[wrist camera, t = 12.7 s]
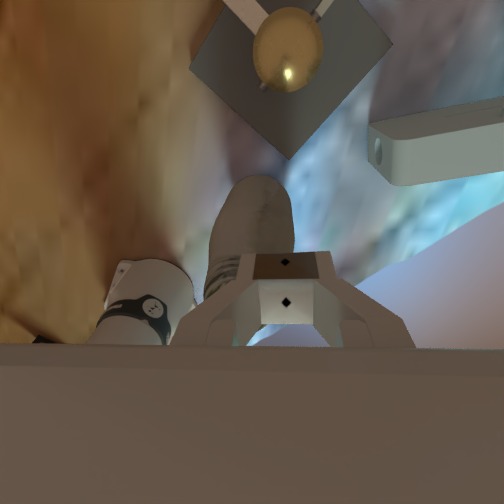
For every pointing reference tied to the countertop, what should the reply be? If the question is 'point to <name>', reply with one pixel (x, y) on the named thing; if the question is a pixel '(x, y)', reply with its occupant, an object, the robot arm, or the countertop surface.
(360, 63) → the plate
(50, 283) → the countertop surface
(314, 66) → the gold knob with bar
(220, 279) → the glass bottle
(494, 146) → the bar with end hole
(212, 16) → the countertop surface
